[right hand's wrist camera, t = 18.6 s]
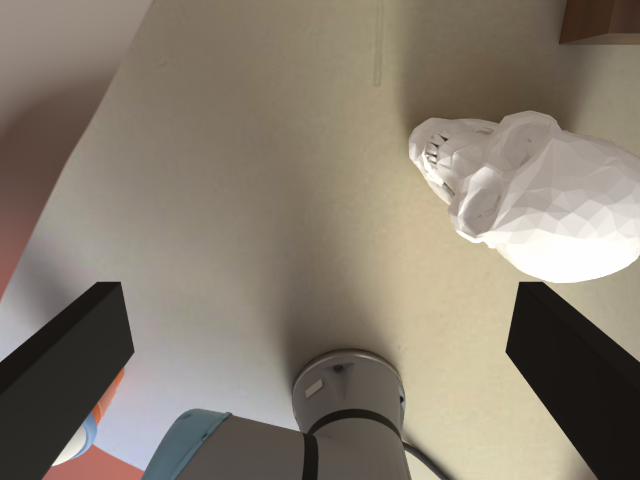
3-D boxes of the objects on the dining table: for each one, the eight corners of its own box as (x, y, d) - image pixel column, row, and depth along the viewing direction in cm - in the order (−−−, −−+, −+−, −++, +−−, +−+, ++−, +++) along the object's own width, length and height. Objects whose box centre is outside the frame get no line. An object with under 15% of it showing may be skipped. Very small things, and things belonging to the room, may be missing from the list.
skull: (432, 75, 39) (495, 70, 25) (611, 155, 42) (765, 194, 27) (377, 193, 44) (403, 248, 29) (542, 258, 47) (641, 338, 32)
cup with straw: (69, 330, 50) (-60, 449, 33) (139, 347, 51) (50, 471, 34) (64, 385, 53) (-55, 520, 36) (131, 400, 54) (45, 538, 37)
